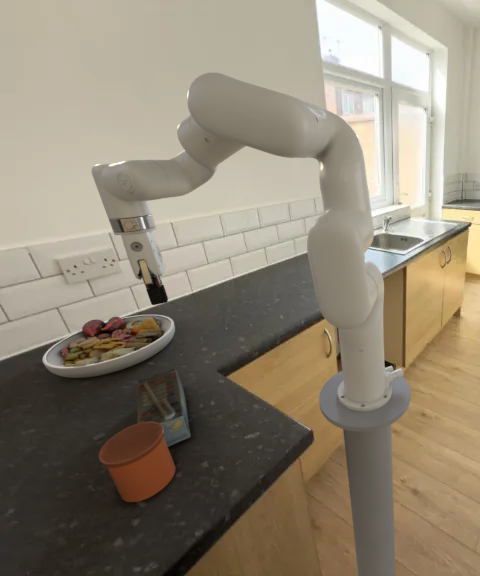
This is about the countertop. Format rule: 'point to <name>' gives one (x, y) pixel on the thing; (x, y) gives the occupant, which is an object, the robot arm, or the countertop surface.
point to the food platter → (109, 346)
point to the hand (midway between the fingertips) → (160, 302)
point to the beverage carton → (164, 405)
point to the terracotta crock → (138, 461)
